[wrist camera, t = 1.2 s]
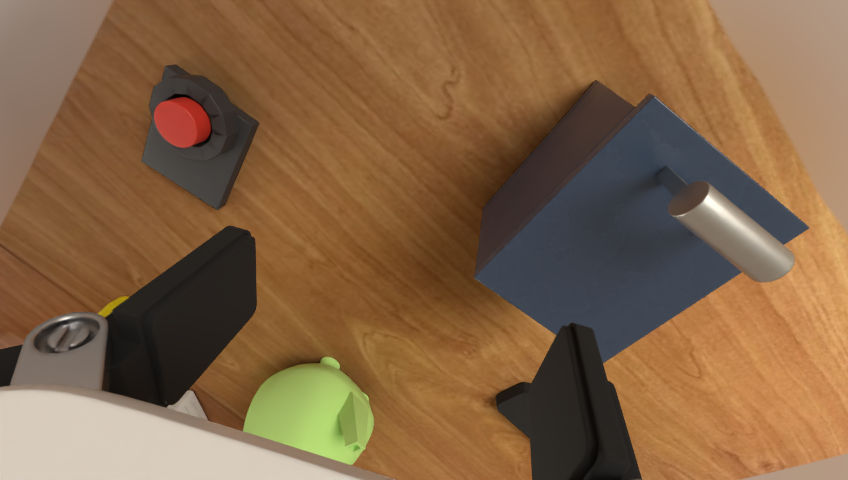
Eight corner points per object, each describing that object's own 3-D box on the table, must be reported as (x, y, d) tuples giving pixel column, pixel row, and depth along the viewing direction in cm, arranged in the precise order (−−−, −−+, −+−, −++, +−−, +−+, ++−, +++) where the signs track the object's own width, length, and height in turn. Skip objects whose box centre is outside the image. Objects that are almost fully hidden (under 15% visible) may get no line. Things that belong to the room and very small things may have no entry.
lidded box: (596, 79, 27) (634, 106, 19) (703, 169, 29) (783, 231, 20) (483, 207, 34) (474, 270, 25) (576, 275, 35) (597, 356, 27)
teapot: (357, 325, 43) (307, 427, 32) (420, 404, 48) (395, 516, 37) (240, 370, 51) (168, 464, 40) (303, 434, 56) (254, 534, 45)
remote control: (492, 392, 45) (573, 467, 48) (491, 405, 44) (574, 482, 47) (527, 375, 43) (609, 456, 46) (527, 388, 41) (612, 470, 44)
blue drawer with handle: (649, 92, 18) (695, 117, 14) (800, 220, 20) (887, 281, 15) (474, 270, 25) (466, 327, 21) (597, 356, 27) (616, 427, 22)
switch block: (179, 50, 32) (150, 53, 29) (265, 110, 33) (244, 118, 30) (151, 157, 37) (124, 167, 35) (225, 205, 39) (205, 218, 36)
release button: (176, 87, 31) (159, 90, 29) (217, 115, 31) (202, 120, 30) (165, 124, 32) (149, 129, 31) (204, 150, 33) (190, 157, 31)
